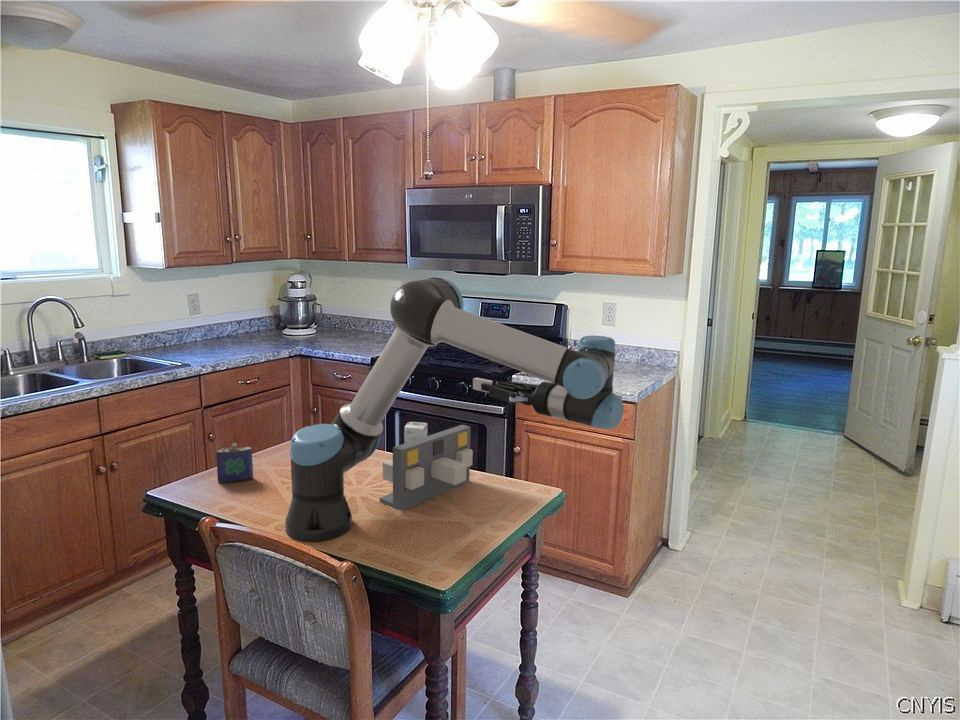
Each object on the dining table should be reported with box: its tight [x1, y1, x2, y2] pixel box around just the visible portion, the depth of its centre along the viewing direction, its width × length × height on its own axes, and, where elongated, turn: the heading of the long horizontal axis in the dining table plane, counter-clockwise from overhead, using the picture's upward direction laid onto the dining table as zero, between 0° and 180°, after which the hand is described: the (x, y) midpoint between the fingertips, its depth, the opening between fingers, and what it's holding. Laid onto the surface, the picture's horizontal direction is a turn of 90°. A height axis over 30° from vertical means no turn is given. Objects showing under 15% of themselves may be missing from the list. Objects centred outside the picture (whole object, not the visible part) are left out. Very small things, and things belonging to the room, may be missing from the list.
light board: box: [378, 424, 472, 512], centre depth 169 cm, size 26×8×16 cm, turn 141°
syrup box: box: [403, 421, 428, 444], centre depth 183 cm, size 6×6×14 cm
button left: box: [382, 458, 424, 490], centre depth 162 cm, size 4×10×4 cm, turn 51°
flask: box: [215, 442, 254, 484], centre depth 174 cm, size 9×3×11 cm, turn 114°
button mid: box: [431, 456, 466, 485], centre depth 165 cm, size 4×10×4 cm, turn 51°
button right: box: [455, 448, 474, 468], centre depth 176 cm, size 4×10×4 cm, turn 51°
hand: (474, 383), depth 157 cm, fingers closed
